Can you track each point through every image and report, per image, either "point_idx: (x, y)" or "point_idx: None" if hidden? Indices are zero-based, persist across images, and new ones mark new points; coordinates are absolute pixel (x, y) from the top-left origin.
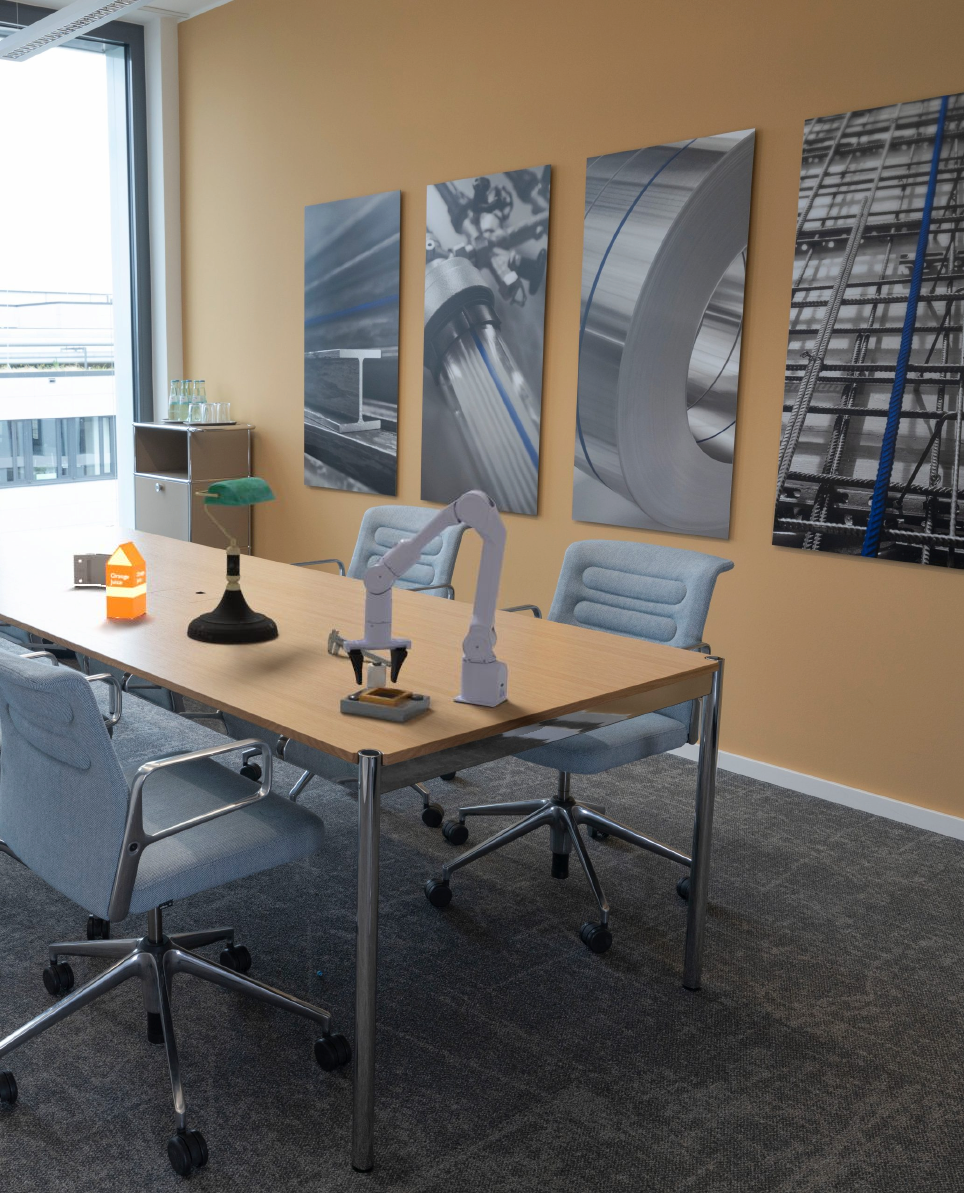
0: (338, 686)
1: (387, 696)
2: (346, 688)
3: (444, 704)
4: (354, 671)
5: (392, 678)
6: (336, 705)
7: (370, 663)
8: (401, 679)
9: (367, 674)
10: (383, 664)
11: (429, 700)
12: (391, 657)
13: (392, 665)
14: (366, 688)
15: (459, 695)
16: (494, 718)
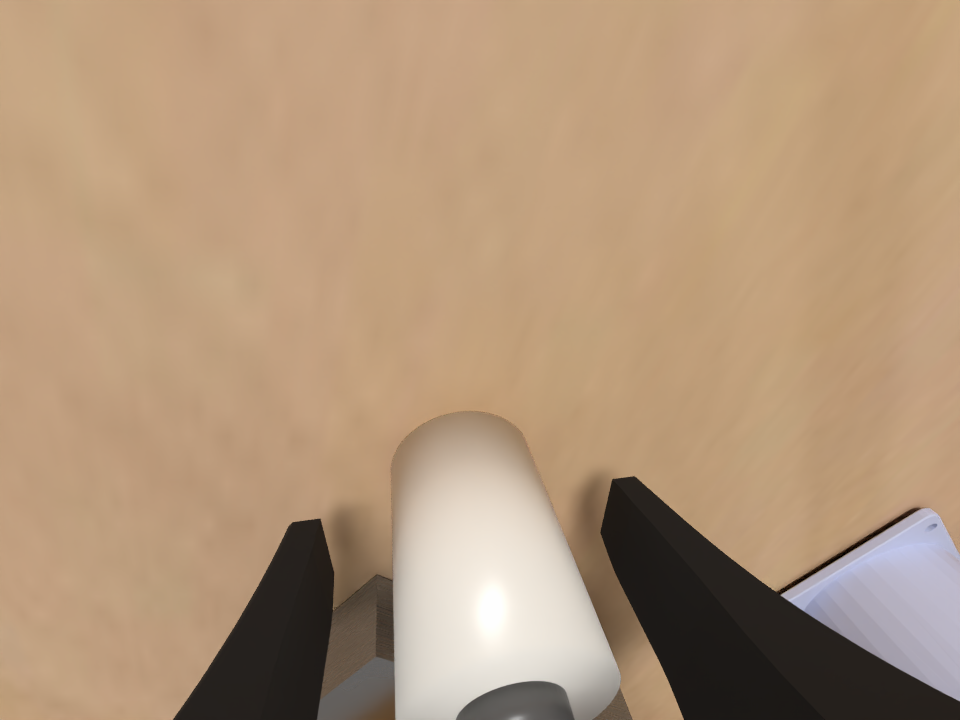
0: (117, 269)
1: None
2: (217, 352)
3: None
4: (237, 630)
5: (618, 538)
6: (148, 677)
7: (454, 679)
8: (854, 112)
9: (393, 614)
10: (593, 689)
11: (626, 708)
12: (774, 698)
13: (697, 624)
14: (344, 687)
15: (828, 581)
16: None
